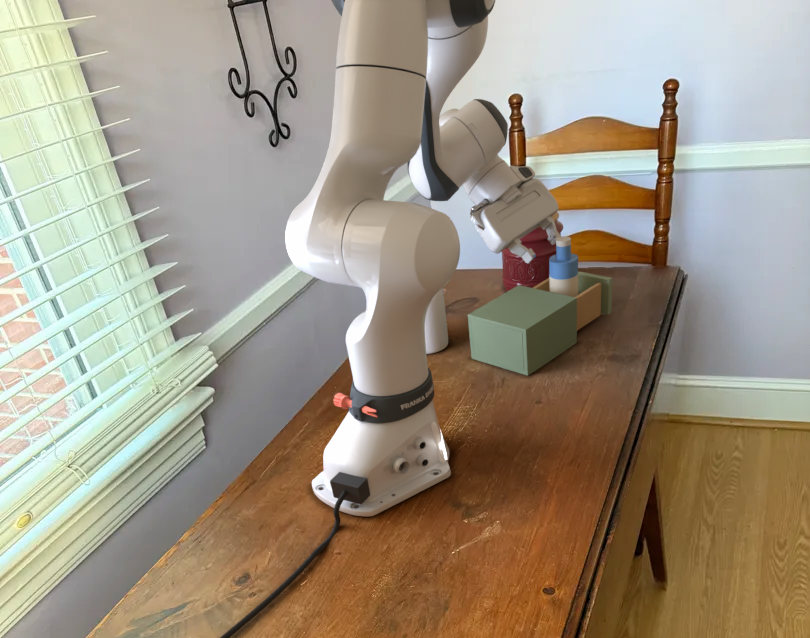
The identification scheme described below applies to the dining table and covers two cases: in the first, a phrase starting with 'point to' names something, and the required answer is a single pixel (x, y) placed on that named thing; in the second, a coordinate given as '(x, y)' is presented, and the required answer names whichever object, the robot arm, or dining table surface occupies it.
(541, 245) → the kitchen canister
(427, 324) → the pill bottle
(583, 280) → the drawer
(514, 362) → the cabinet
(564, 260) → the bottle
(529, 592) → the dining table surface
